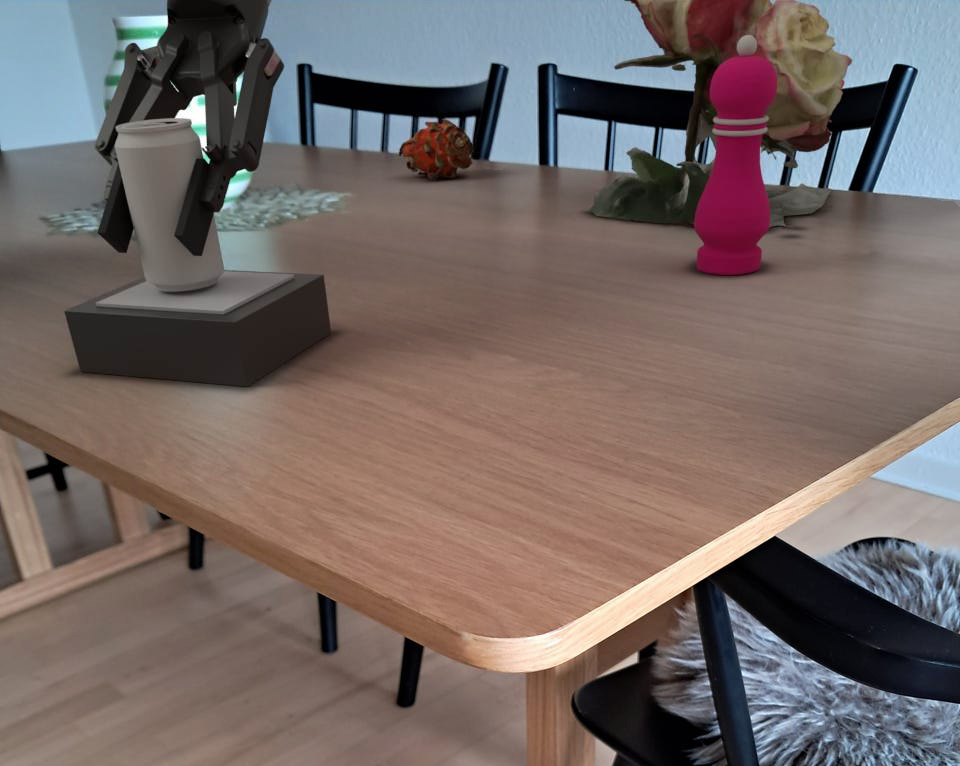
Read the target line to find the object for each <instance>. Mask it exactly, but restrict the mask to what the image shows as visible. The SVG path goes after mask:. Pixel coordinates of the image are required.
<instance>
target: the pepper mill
mask: <svg viewBox="0 0 960 766" xmlns="http://www.w3.org/2000/svg"><path fill="white" fill-rule="evenodd" d="M756 49H757V41H756V39H755V38H754V37H753V36H752V35H745V36H743V37H742V38H741V39H740V40H739V41H738V44H737V52H738V54H739V55H740V56H736V57H732V58H730V59H728V60H726V61H725V62H723V63H722V64H721V65H720V66H719V67H718V68H717V70H716V71H715V73H714V75H713V78H712V80H711V85H710V100H711V102H712V104H713V106H714V107H715V109H716V110H717V113H718V116H716V117H715V118H714V119H713V122H714V123H715V124H714V128H713V130H712V132H713V133H714V134H715V135H716V150H715V155H714V158H715V160H714V159H713V160H714V165H713V169H712V172H711V175H710V178H709V180H708V183H707V185H706V187H705V189H704V191H703V194H702V196H701V198H700V200H699V203H698V207H697V210H696V214H695V221H694V224H693V228H694V232H695V234H697V236H698V237H699V239H700V240H701V242H702V243H703V244H702V245H701V246H700V247H698V248H697V253H696V264H695V266H696V268H697V270H698V271H700V272H703V273H706V274H710V275H717V276H739V275H747V274H751V273H755V272H757V271H758V270H759V269H760V268H761V265H762V255H763V250H762V248H761V247H760V246H759V245H758V243H759V242H760V241H761V239H762V238H763V237H764V236H765V235H766V233H767V232H768V231H769V230H770V229H769V228H770V227H769V226H770V205H769V199H768V196H767V193H766V192H767V190H766V186H765V183H764V179H763V173H762V167H761V166H762V165H761V141H762V136H763V134H764V133H766V132H767V130H768V129H767V127H766V126H767V123H766V122H767V121H768V120H769V117H768V116H767V115H764V114H765V112H766V110H767V108H768V107H769V106H770V105H771V103H772V102H773V100H774V99H775V96H776V93H777V75H776V71H775V69H774V67H773V65H772V64H771V63H770V62H769V61H767V60H766V59H764V58H762V57H759V56H755V55H753V54H754V53H755V51H756Z"/></svg>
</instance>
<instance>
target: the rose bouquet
mask: <svg viewBox="0 0 960 766" xmlns="http://www.w3.org/2000/svg"><path fill="white" fill-rule="evenodd" d="M623 1H624V2H630V3H631V4H634V7H636V9H637V11H638V12H639V13H640V19H642V22H643V25H644V26H645V29H646V30H647V32H648V34H650V36H651V37H652V39H653V41H654V42H655V44H656V45H657V47H658V49H662V51H663V54H655V55H649V56H645V57H638V58H632V59H628V60H624V61H621V62H618V63H617V64H615V65H614V66H613V68H614V70H616V71H617V70H621V69H624V68H629V67H636V68H637V67H640V68H641V67H642V68H659V69H660V68H661V69H663V68H669V67H671V69H672V71H676V72H677V71H678V72H684V71H685V72H686V71H687V68H686V65H685V64H681V63H685V62H690V61H692V62H693V63H692V66H694V65H695V75H694V79H695V81H694V84H693V89H694V92H693V102H692V105H691V107H690V109H689V115H688V120H687V121H688V122H687V127H686V131H685V136H686V139H685V147H684V158H685V159H684V161H680V162H678V163H676V166H674V165H673V164H671V163H670V162H667V161H665V160H663V159H661V158H658V157H655V156H654V155H653V154H651V153H650V152H647V151H646V150H645V149H641V148H638V147H632V148H631V149H629V150H627V151H626V152H625V153H626V155H627V156H629V159H630V160H631V168H630V169H631V170H632V171H633V172H634V173H635V174H636V175H637V176H638V177H634V176H628V175H625V174H623V175H621V176H619V177H617V178H616V179H614V180H613V182H612V183H610V184H609V185H608V186H607V187H603V188H601V189H600V190H597V191H596V193H595V197H594V200H593V205H592V207H590V209H589V210H588V211H589V213H591V214H594V215H595V216H597V217H602V218H610V219H616V220H624V221H636V222H638V221H639V222H648V223H655V224H656V223H657V224H663V225H665V224H666V223H670V224H673V223H680V222H683V223H687V224H691V225H694V221H695V214H696V210H697V207H698V203H699V200H700V198H701V196H702V194H703V191H704V189H705V187H706V185H707V183H708V180H709V178H710V175H711V172H712V169H713V165H714V160H715V157H714V158H713V159H712V160H711V162H710V163H701V162H698V161H697V159H696V150H697V148H698V146H699V145H701V143H703V142H704V141H705V140H706V139H707V138H708V137H709V138H710V140H711V142H712V145H713V148H714V150H715V151H716V135H715V134H714V133H713V132H712V130H713V128H714V124H715V123H714V122H713V119H714V118H715V117H716V116H718V113H717V110H716V109H715V107H714V106H713V104H712V102H711V100H710V85H711V80H712V78H713V75H714V73H715V71H716V70H717V68H718V67H719V66H720V65H721V64H722V63H723V62H725V61H726V60H728V59H730V58H732V57H736V56H740V55H739V54H738V52H737V44H738V41H739V40H740V39H741V38H742V37H743V36H745V35H752V36H753V37H754V38H755V39H756V41H757V49H756V51H755V53H754V54H753V55H755V56H759V57H762V58H764V59H766V60H767V61H769V62H770V63H771V64H772V65H773V67H774V69H775V71H776V75H777V93H776V96H775V99H774V100H773V102H772V103H771V105H770V106H769V107H768V108H767V110H766V112H765V114H764V115H767V116H768V117H769V120H768V121H767V122H766V123H767V126H766V127H767V129H768V130H767V132H766V133H764V134H763V136H762V141H761V147H760V154H762V153H763V152H766V154H767V155H772V156H773V159H774V160H776V161H777V156H776V155H775V154H774V153H776V152H780V153H782V154H784V155H786V156H787V157H788V158H789V159H790V160H789V161H786V162H783V163H782V164H783V165H784V166H785V167H787V168H790V169H797V168H799V167H798V166H799V164H798V161H797V160H796V158H795V157H794V155H793V154H794V152H800V153H813V152H815V151H819V150H821V149H822V148H823V147H825V146H826V145H827V144H829V143H830V141H831V137H832V136H833V134H832V131H831V130H829V128H828V127H827V125H828V123H832V120H831V119H830V117H831V116H832V114H833V112H834V110H835V109H836V107H837V105H838V104H839V103H840V101H841V99H842V96H843V94H844V91H842V89H843V87H844V86H845V80H844V79H845V77H846V75H847V73H848V68H849V67H850V66H851V65H852V62H853V59H852V58H851V57H850V56H849V55H847V54H843V53H839V52H837V51H835V50H834V49H833V47H835V46H836V45H837V43H836V42H835V37H833V36H831V35H828V34H827V32H828V31H829V28H830V24H829V21H828V20H827V18H825V17H823V16H822V15H821V14H820V12H821V11H820V10H819V8H818V7H817V6H816V5H814V4H812V5H811V4H808V3H805V2H802V1H797V0H774V1H773V3H772V2H771V0H623ZM575 89H576V88H575V87H573V90H575ZM831 192H832V189H831V188H829V187H825V188H818V187H815V186H809V185H806V184H804V183H803V182H802V183H800V184H799V185H798V186H797V187H795V188H794V189H792V190H785V191H766V193H767V196H768V199H769V205H770V226H769V228H771V227H775V226H780V227H781V226H782V227H783V226H784V227H786V224H785V222H784V216H798V215H799V216H800V215H810V214H813V213H814V212H816V211H817V210H819V209H820V208H822V207H823V206H824V204H826V201H827V199H828V196H829V195H830V193H831ZM787 227H789V228H793V225H792V226H791V225H787ZM791 235H792V234H791Z"/></svg>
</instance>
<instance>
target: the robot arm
mask: <svg viewBox="0 0 960 766" xmlns="http://www.w3.org/2000/svg"><path fill="white" fill-rule="evenodd" d="M271 3H272V0H166V15H167V26H166V29H165V30H164V32H163V33H162V35H161V36H160V37H159V38H158V40H157V43H156V45H154V46H151V47H148V48H144V49H141V47H140V46H139V45H138V44H137V43H136V42H130V43H128V44H127V46H126V48H125V50H124V59H123V60H124V62H123V63H124V64H123V70H122V73H121V76H120V78H119V81H118V83H117V86H116V88H115V90H114V93H113V96H112V98H111V101H110V104H109V107H108V110H107V112H106V114H105V117H104V119H103V122H102V124H101V128H100V129H99V132H98V136H97V138H96V140H95V143H94V149H95V151H96V152H97V153H98V154H99V155H100V156H101V157H102V158H103V159H104V160H105V161H106V162H107V163H108V164H109V165H110V166H111V167H110V172H109V174H108V176H107V182H106V184H105V188H104V190H103V199H104V201H106V203H105V206H104V209H103V213H102V216H101V220H100V222H99V225H98V230H97V231H96V232H97V234H98V236H100V237H101V238H102V239H103V240H104V241H105V242H107V243H108V244H109V246H111V247H112V248H113V249H114V250H115V251H116V252H117V253H119V254H127V253H128V249H129V246H130V243H131V239H132V236H133V232H134V227H133V223H132V219H131V214H130V210H129V206H128V201H127V197H126V193H125V188H124V184H123V180H122V175H121V171H120V167H119V162H118V158H117V154H116V149H115V143H116V140H117V137H118V131H116V126H117V125H120V124H124V123H130V122H136V121H143V120H153V119H167V118H177V115H178V114H179V112H180V111H186V110H187V109H188V107H189V106H190V104H191V102H192V101H193V99H194V98H196V97H199V96H204V110H205V112H204V113H205V136H206V137H205V139H206V140H205V141H206V146H204V147H202V146H201V148H202V153H203V154H205V155H206V157H207V158H208V159H209V161H207V160H206V159H205V158H203V159H196V161H195V164H194V168H193V171H192V175H191V178H190V182H189V185H188V189H187V192H186V196H185V199H184V202H183V206H182V209H181V213H180V216H179V220H178V223H177V227H176V230H175V234H174V236H175V237H176V238H177V239H178V240H179V241H180V242H181V243H182V244H183V245H184V246H185V247H186V248H187V249H188V250H189V251H190V252H191V254H192V255H193V256H202V254H203V250H204V247H205V243H206V240H207V236H208V233H209V229H210V225H211V222H212V218H213V215H214V216H215V213H220V212H221V211H222V209H223V207H224V204H225V199H226V197H227V193H228V191H229V186H230V183H231V180H232V179H233V178H234V177H235V176H237V173H238V172H241V171H243V170H245V171H247V172H248V173H252V172H255V171H256V170H258V168H259V165H260V161H261V155H262V150H263V146H264V145H263V144H264V141H265V140H264V139H265V135H266V129H267V124H268V118H269V113H270V108H271V104H272V99H273V94H274V93H273V92H274V88H275V86H276V84H277V82H278V80H279V78H280V76H281V75H282V74H283V71H284V68H285V63H284V62H283V60H282V58H281V57H280V55H279V54H278V52H277V51H276V49H275V47H274V46H273V44H272V42H271V41H270V38H267V37H263V33H264V30H265V26H266V22H267V19H268V16H269V7H270V5H271ZM242 74H243V75H242ZM241 75H242V80H241V85H240V89H239V96H238V97H237V95H238V93H237V82H238V78H239V77H240V76H241ZM235 107H236V110H235ZM235 111H236V112H235Z"/></svg>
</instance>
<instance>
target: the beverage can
mask: <svg viewBox="0 0 960 766" xmlns="http://www.w3.org/2000/svg"><path fill="white" fill-rule="evenodd" d="M192 125H193V122H192V119H191V118H184V117H175V118H167V119H153V120H143V121H136V122H130V123H124V124H120V125H117V126H116V131H118V137H117V140H116V143H115V149H116V154H117V158H118V162H119V167H120V171H121V175H122V180H123V184H124V188H125V193H126V197H127V201H128V206H129V210H130V214H131V219H132V223H133V227H134V229H133V232H134V236H135V239H136V240H135V241H136V244H137V248H138V253H139V257H140V262H141V266H142V270H143V274H144V277H145V279H146V281H147V282H149V283H150V284H153V285H155V287H156V289H158V290H160V291H167V292H179V291H189V290H195V289H200V288H204V287H207V286H210V285H213V284H215V283H216V282H217V281H218V278H219V277H220V276H221V275H222V274H223V273H224V270H225V265H224V261H223V254H222V249H221V245H220V239H219V233H218V229H217V222H216V218H215V214H214V215H213V218H212V222H211V225H210V229H209V233H208V236H207V240H206V243H205V247H204V250H203V254H202V256H193V255H192V254H191V252H190V251H189V250H188V249H187V248H186V247H185V246H184V245H183V244H182V243H181V242H180V241H179V240H178V239H177V238H176V237H175V236H174V234H175V230H176V227H177V223H178V220H179V216H180V213H181V209H182V206H183V202H184V199H185V196H186V192H187V189H188V185H189V182H190V178H191V175H192V171H193V168H194V164H195V161H196V159H204V152H203V150H202V144H201V138H200V136H199V134H198V133H197V132H196V131H195V130H194V128H193V127H192Z"/></svg>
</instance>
